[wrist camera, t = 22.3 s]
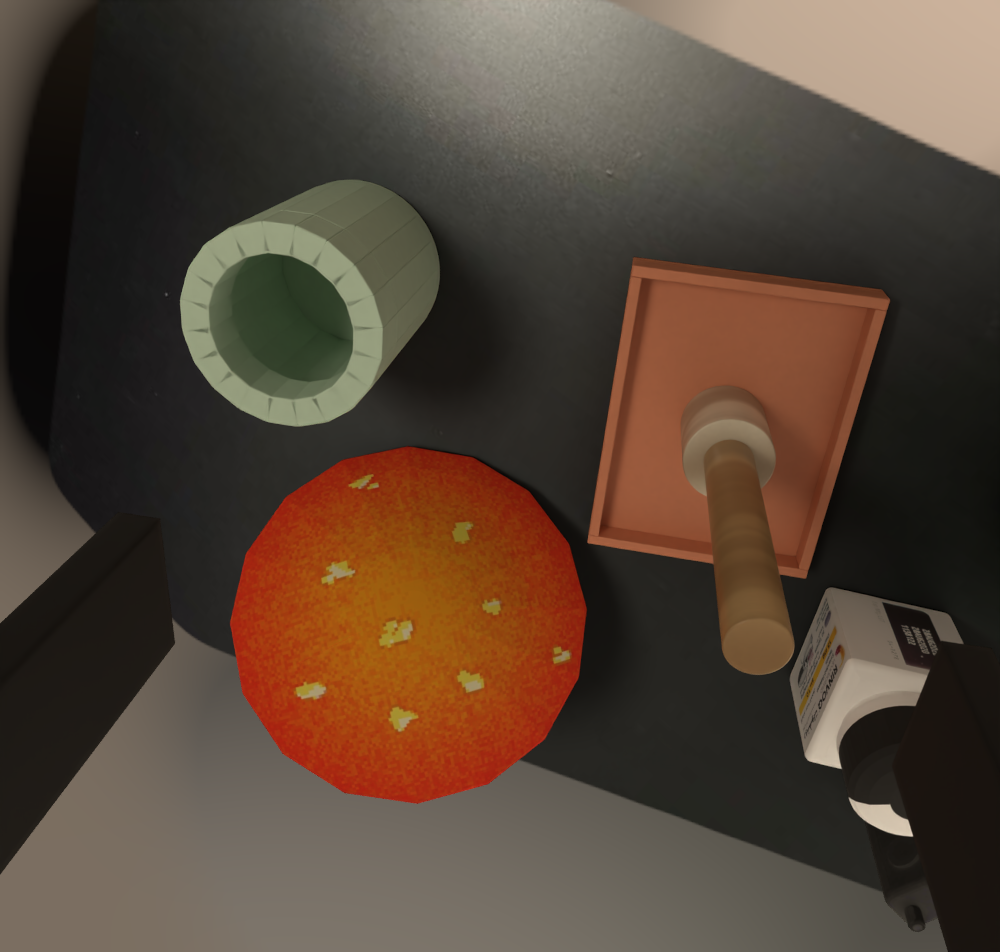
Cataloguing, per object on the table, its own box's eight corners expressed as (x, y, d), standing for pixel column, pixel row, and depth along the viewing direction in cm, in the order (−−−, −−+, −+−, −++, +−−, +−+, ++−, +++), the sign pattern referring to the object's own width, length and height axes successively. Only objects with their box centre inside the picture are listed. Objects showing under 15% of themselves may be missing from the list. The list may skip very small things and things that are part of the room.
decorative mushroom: (550, 683, 63) (520, 859, 50) (271, 580, 63) (167, 729, 49) (630, 513, 56) (621, 665, 43) (317, 396, 56) (210, 512, 42)
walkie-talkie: (879, 814, 63) (937, 1023, 50) (850, 785, 63) (901, 989, 49) (941, 784, 61) (1019, 994, 48) (912, 754, 61) (982, 958, 47)
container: (826, 583, 56) (869, 728, 44) (951, 611, 55) (1027, 765, 44) (787, 678, 59) (818, 834, 48) (904, 705, 59) (963, 870, 47)
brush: (689, 379, 51) (705, 583, 32) (774, 391, 50) (841, 605, 32) (673, 454, 53) (681, 686, 35) (755, 467, 53) (807, 708, 34)
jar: (276, 169, 50) (172, 208, 39) (445, 191, 49) (386, 237, 38) (279, 334, 54) (187, 410, 44) (434, 357, 53) (379, 440, 43)
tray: (633, 256, 49) (632, 265, 47) (882, 289, 47) (890, 299, 46) (589, 527, 57) (587, 543, 55) (801, 561, 55) (806, 579, 54)
